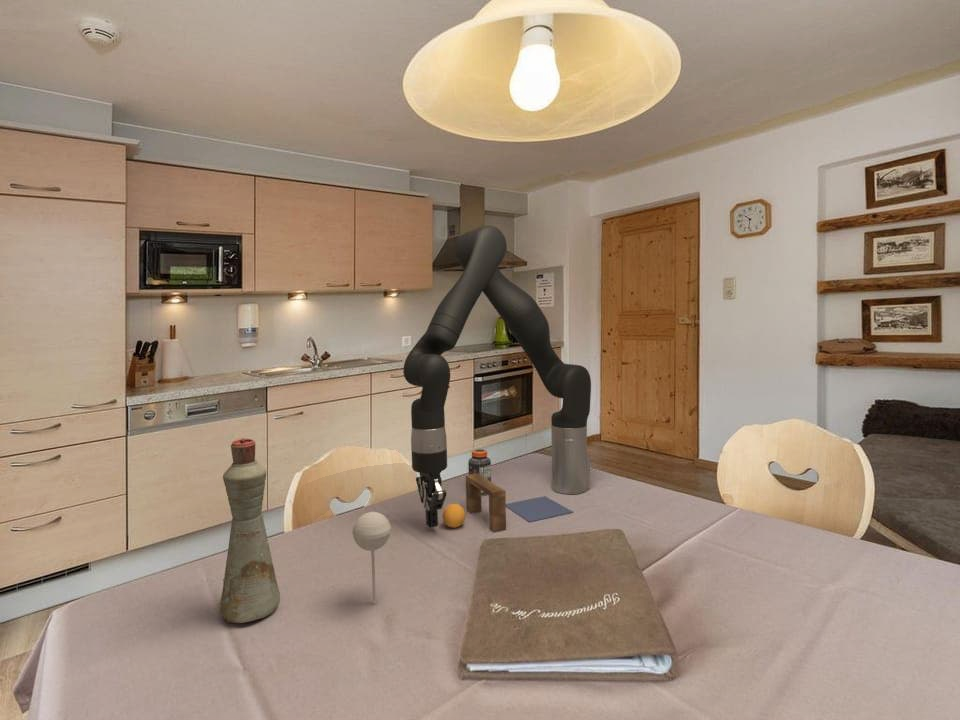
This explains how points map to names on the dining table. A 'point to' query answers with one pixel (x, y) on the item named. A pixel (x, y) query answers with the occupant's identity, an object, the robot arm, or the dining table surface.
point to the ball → (453, 515)
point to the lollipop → (372, 536)
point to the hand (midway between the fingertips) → (431, 525)
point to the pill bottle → (480, 464)
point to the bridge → (496, 500)
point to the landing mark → (538, 508)
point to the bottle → (247, 542)
